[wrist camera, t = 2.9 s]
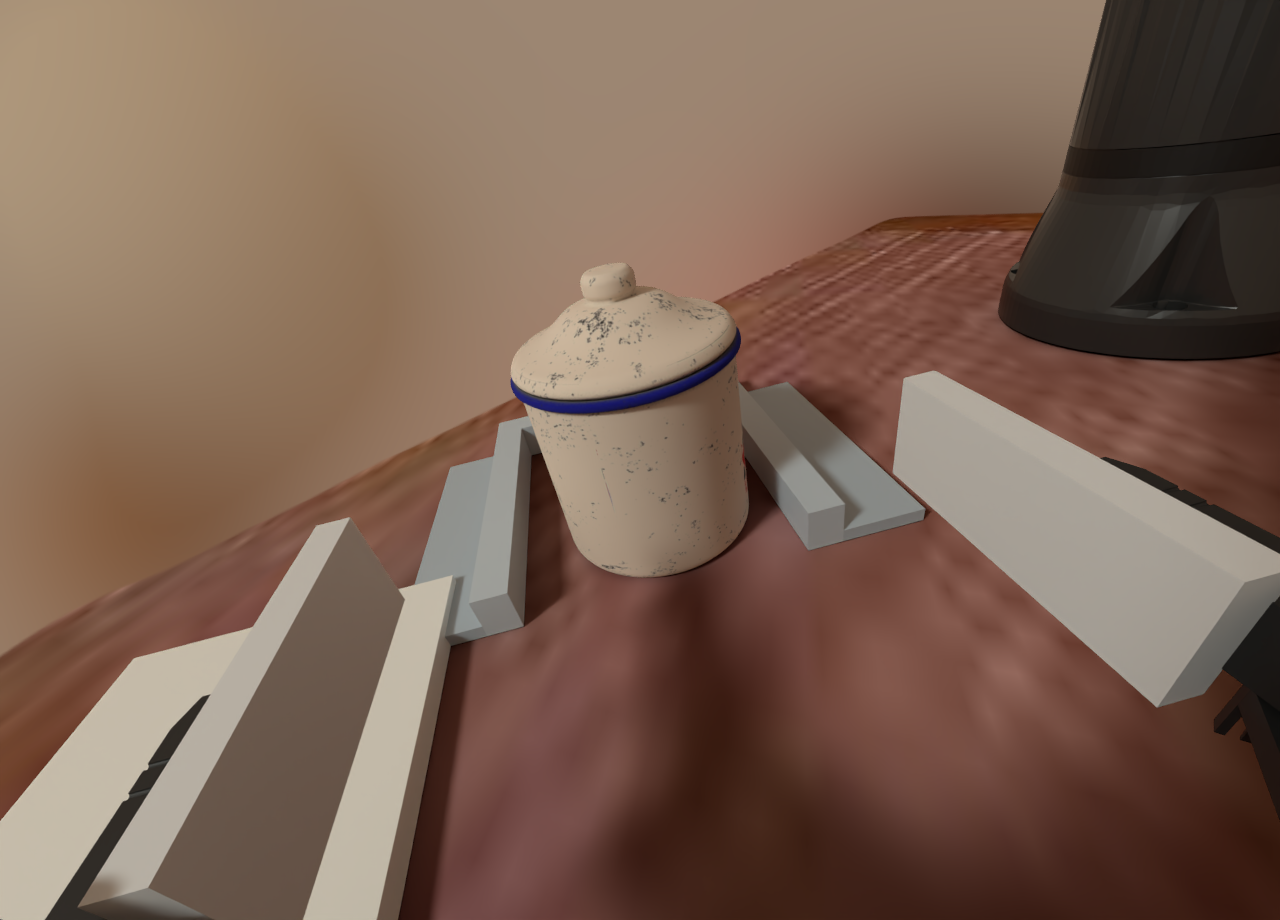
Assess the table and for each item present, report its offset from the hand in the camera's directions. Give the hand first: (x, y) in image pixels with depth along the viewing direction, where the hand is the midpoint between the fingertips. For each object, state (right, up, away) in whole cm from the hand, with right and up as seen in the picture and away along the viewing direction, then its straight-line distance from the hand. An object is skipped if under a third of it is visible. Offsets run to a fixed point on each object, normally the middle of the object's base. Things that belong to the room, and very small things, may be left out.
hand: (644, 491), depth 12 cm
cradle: (0, -1, +14) cm, 14 cm away
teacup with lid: (0, -1, +13) cm, 13 cm away
